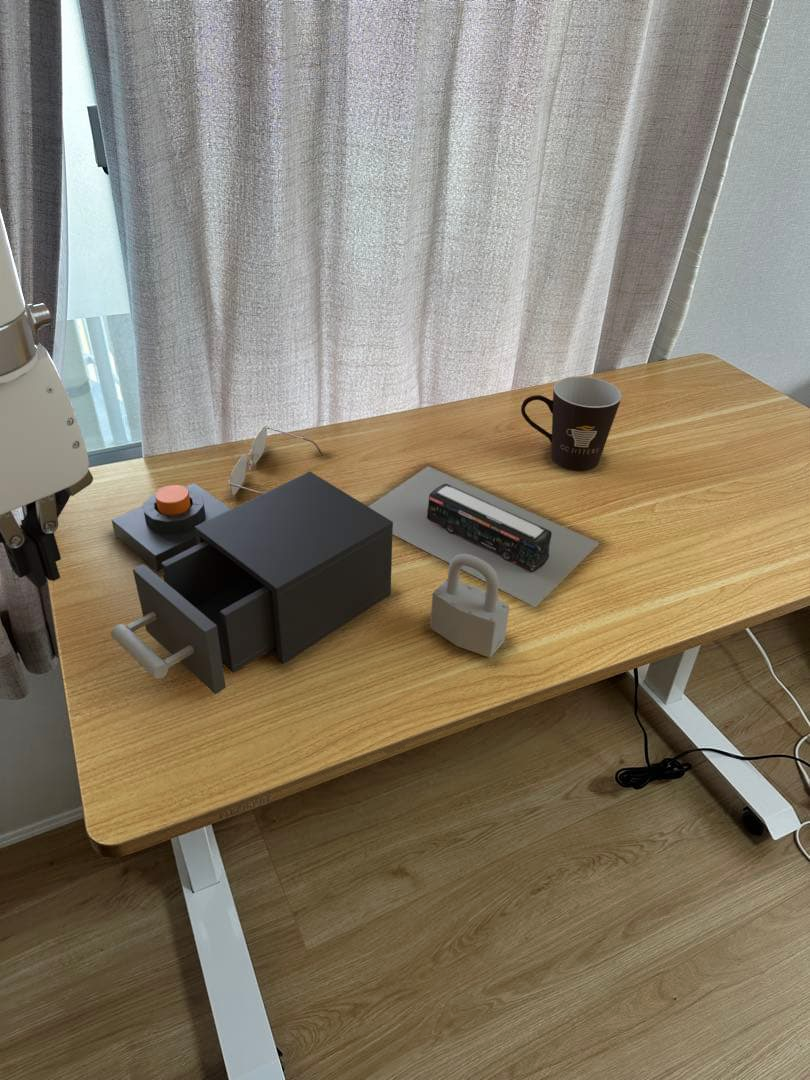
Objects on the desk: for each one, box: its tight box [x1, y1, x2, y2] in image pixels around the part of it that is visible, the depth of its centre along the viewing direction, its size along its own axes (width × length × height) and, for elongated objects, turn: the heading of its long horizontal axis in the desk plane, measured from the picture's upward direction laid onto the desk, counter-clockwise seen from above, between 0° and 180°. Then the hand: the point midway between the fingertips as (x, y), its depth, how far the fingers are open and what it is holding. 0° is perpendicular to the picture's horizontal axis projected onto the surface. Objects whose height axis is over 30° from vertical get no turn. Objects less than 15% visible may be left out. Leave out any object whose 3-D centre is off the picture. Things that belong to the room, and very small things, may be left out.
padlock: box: [429, 554, 510, 658], centre depth 78 cm, size 7×4×10 cm, turn 56°
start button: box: [155, 484, 190, 515], centre depth 90 cm, size 4×4×2 cm
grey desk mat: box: [367, 466, 600, 608], centre depth 94 cm, size 14×25×4 cm, turn 52°
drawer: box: [110, 541, 277, 695], centre depth 76 cm, size 18×11×8 cm, turn 136°
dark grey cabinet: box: [195, 471, 393, 665], centre depth 82 cm, size 15×13×10 cm
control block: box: [111, 482, 232, 572], centre depth 91 cm, size 11×9×4 cm
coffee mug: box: [520, 375, 623, 472], centre depth 106 cm, size 12×9×10 cm
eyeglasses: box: [227, 425, 324, 496], centre depth 101 cm, size 14×8×4 cm, turn 168°
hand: (39, 574), depth 60 cm, fingers closed
